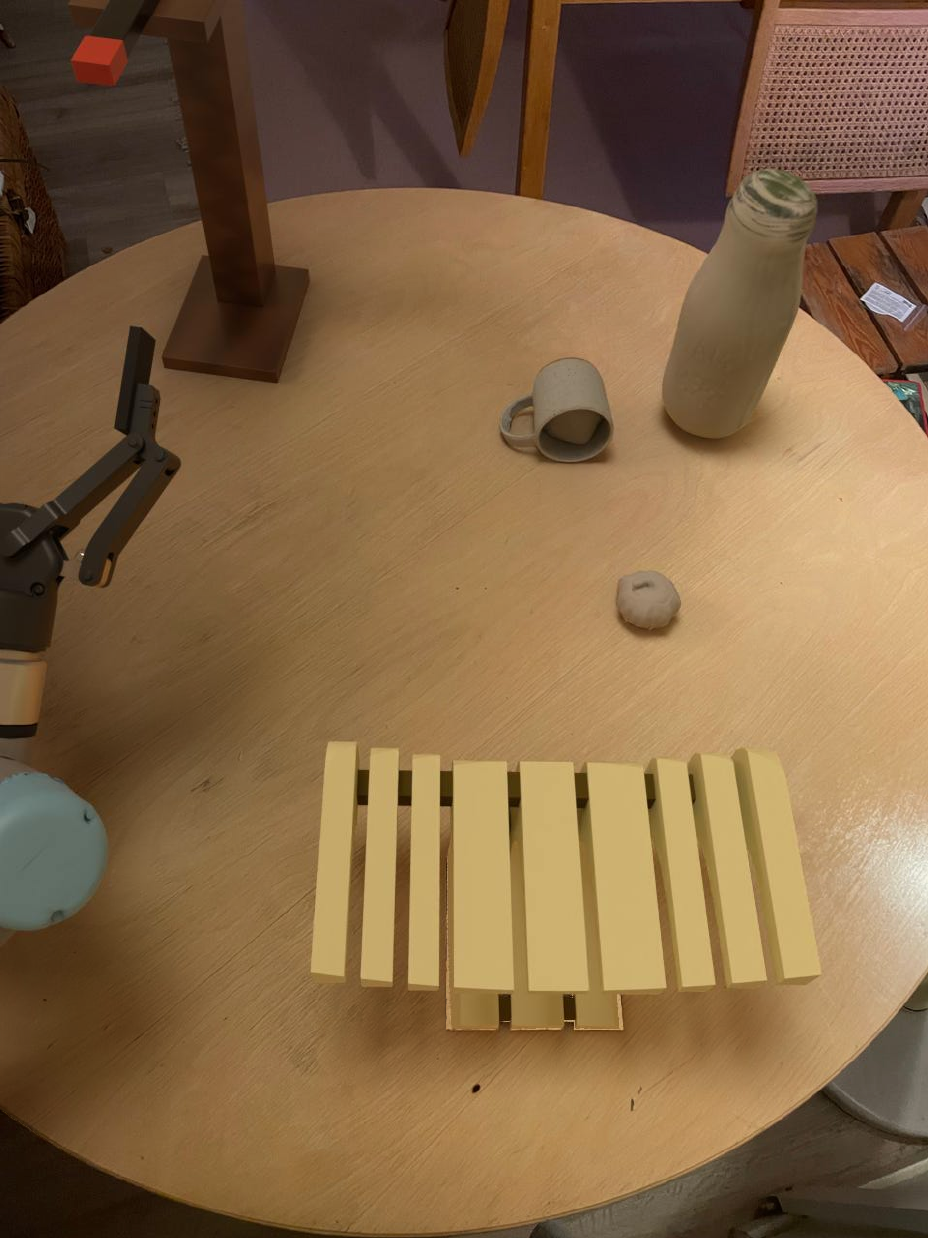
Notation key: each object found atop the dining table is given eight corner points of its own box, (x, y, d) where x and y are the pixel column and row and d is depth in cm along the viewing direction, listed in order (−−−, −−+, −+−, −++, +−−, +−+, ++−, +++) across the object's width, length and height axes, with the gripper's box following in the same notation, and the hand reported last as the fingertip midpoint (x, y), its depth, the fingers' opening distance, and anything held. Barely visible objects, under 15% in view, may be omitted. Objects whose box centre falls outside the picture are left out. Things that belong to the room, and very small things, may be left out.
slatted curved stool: (709, 824, 85) (776, 729, 70) (738, 1031, 76) (821, 974, 61) (340, 819, 83) (327, 722, 68) (328, 1030, 75) (310, 972, 60)
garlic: (601, 624, 94) (611, 593, 90) (619, 579, 97) (630, 547, 92) (664, 648, 93) (678, 617, 89) (681, 601, 96) (694, 570, 92)
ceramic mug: (596, 402, 108) (607, 347, 102) (607, 462, 104) (619, 409, 98) (495, 404, 108) (500, 349, 101) (502, 465, 104) (508, 412, 97)
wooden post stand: (158, 381, 107) (53, 2, 75) (204, 266, 116) (129, -116, 84) (273, 397, 107) (217, 23, 74) (309, 280, 116) (275, -97, 84)
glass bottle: (761, 408, 109) (863, 172, 86) (723, 471, 105) (819, 239, 81) (677, 370, 112) (753, 129, 88) (635, 429, 107) (703, 192, 83)
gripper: (-169, 621, 70) (-118, 311, 70) (196, 675, 69) (244, 361, 69) (-248, 617, 62) (-190, 270, 63) (160, 678, 61) (215, 326, 62)
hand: (38, 317), depth 66 cm, fingers open, 13 cm apart
